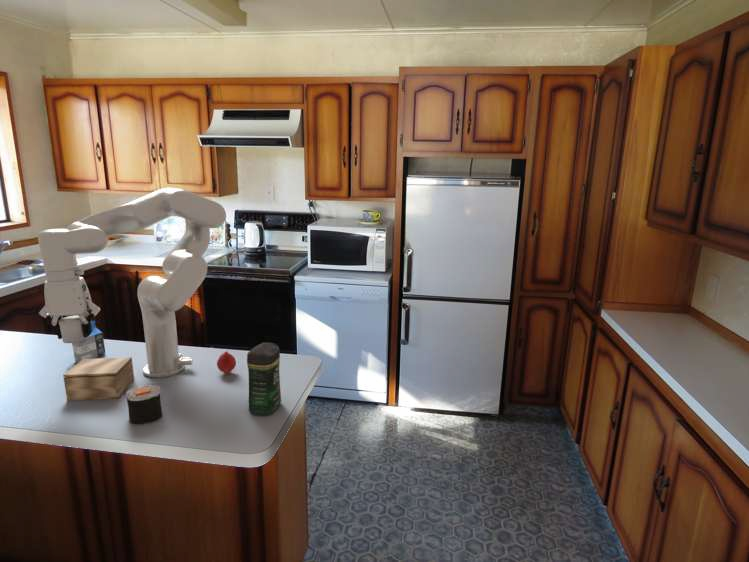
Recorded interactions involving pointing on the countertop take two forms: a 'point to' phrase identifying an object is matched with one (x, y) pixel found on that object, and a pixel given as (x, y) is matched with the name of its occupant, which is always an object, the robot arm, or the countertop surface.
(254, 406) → the coffee jar
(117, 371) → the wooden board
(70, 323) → the cream-capped white cylinder
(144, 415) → the sushi
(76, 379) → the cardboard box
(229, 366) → the onion
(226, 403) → the countertop surface
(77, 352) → the label tape box
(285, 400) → the countertop surface
